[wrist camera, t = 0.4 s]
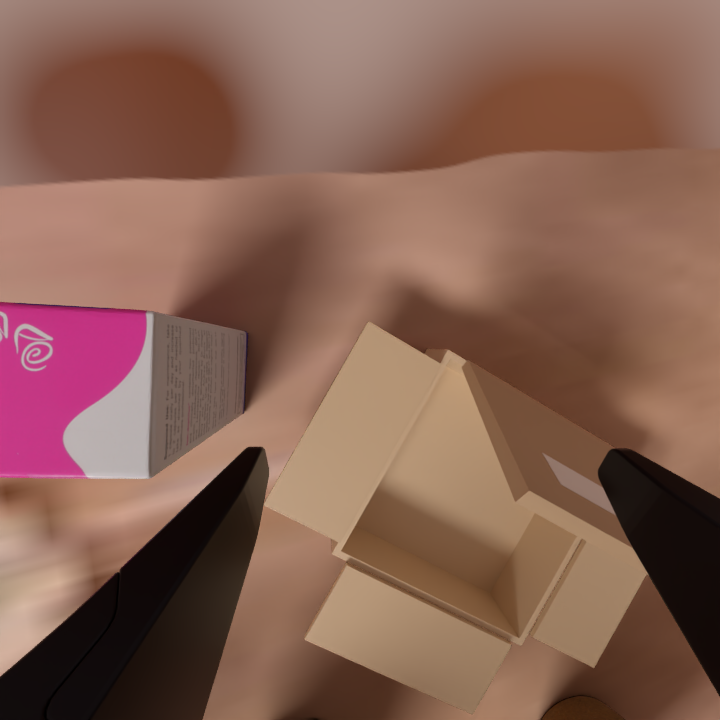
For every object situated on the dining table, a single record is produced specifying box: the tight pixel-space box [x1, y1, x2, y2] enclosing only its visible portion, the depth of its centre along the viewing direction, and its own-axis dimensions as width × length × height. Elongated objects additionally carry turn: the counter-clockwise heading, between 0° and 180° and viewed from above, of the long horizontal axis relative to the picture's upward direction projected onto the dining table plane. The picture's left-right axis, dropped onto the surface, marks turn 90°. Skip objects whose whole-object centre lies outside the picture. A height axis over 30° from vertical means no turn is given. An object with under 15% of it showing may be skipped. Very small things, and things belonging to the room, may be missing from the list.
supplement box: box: [0, 302, 248, 479], centre depth 16 cm, size 6×6×12 cm
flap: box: [461, 360, 648, 575], centre depth 14 cm, size 1×12×10 cm, turn 59°
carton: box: [264, 321, 646, 715], centre depth 21 cm, size 19×24×4 cm
